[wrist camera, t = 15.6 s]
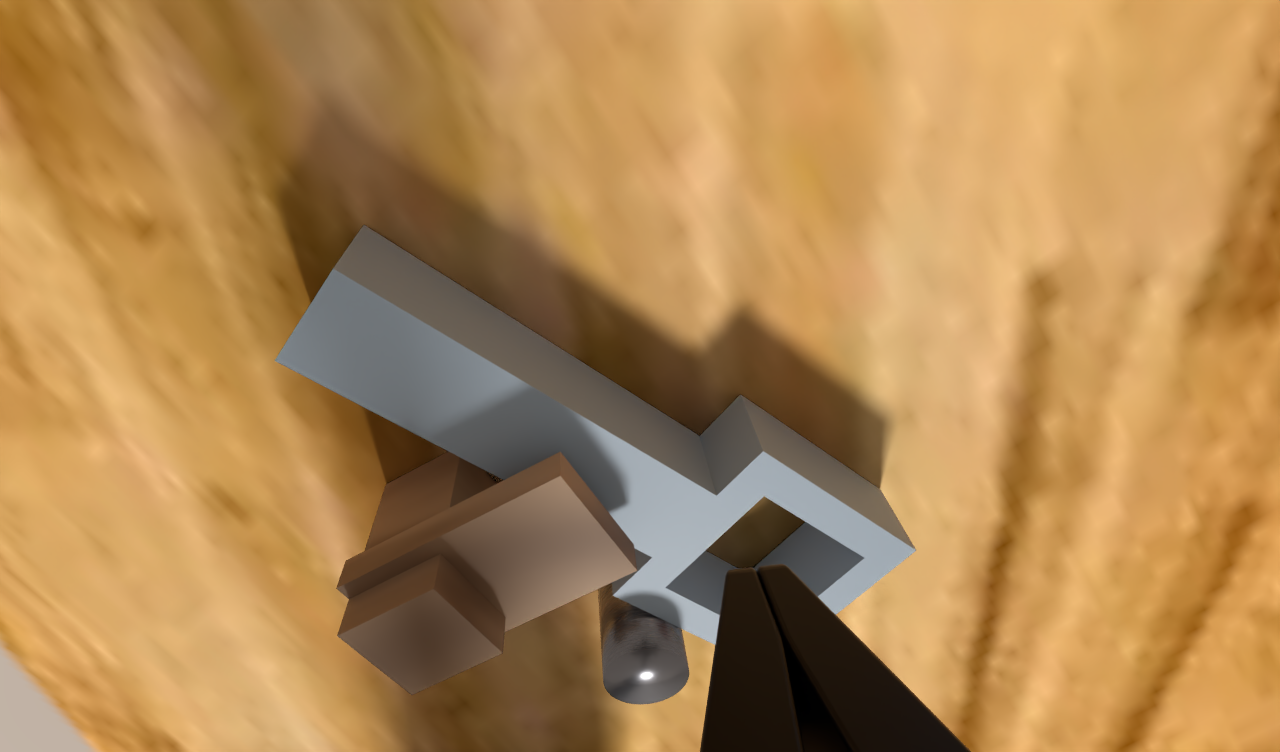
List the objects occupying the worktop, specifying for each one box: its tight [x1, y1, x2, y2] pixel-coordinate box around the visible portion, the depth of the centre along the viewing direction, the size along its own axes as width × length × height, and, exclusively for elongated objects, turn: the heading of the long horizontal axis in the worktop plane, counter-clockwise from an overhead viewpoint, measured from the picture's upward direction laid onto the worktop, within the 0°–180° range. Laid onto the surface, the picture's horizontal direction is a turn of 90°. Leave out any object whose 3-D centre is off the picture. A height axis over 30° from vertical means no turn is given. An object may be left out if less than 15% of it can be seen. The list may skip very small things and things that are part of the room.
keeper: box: [336, 451, 637, 695], centre depth 21 cm, size 4×7×6 cm, turn 119°
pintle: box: [598, 583, 689, 704], centre depth 25 cm, size 3×3×4 cm
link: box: [275, 225, 916, 644], centre depth 22 cm, size 19×7×3 cm, turn 51°
